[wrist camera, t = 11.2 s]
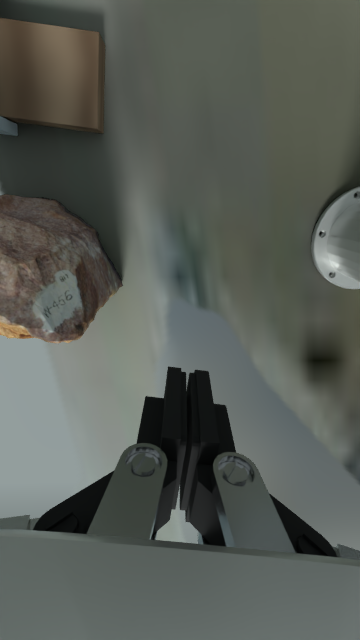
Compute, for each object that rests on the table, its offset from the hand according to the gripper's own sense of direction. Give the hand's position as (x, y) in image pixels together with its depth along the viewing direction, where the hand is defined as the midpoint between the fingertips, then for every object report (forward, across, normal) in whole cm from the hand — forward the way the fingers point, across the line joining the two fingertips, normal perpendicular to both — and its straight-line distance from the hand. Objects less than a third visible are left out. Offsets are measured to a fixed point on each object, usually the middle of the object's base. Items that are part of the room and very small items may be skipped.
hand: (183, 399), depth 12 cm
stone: (+29, +16, 0) cm, 33 cm away
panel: (+30, +18, -17) cm, 39 cm away
